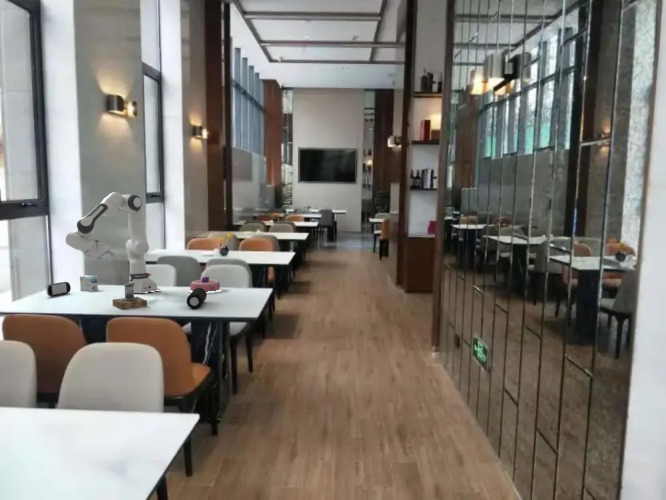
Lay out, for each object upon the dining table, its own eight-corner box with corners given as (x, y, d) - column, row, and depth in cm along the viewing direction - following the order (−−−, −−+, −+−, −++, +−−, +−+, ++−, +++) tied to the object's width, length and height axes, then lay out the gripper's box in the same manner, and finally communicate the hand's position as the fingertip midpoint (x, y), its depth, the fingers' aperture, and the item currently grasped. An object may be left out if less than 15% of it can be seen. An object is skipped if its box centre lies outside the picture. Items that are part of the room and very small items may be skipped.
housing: (132, 297, 362) (132, 282, 361) (136, 299, 357) (136, 283, 356) (122, 299, 357) (121, 283, 356) (126, 300, 352) (125, 284, 351)
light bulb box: (98, 290, 413) (97, 275, 412) (91, 291, 407) (91, 276, 406) (86, 289, 417) (86, 274, 416) (80, 290, 411) (79, 276, 409)
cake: (206, 295, 397) (205, 280, 396) (180, 292, 409) (180, 277, 408) (229, 290, 418) (229, 276, 417) (204, 287, 431) (204, 273, 430)
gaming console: (46, 297, 382) (48, 297, 381) (44, 284, 382) (47, 284, 381) (69, 293, 400) (71, 293, 399) (67, 281, 400) (70, 280, 399)
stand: (137, 302, 369) (137, 296, 368) (147, 306, 357) (146, 299, 356) (112, 305, 358) (112, 298, 358) (121, 309, 346) (121, 302, 346)
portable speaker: (192, 301, 374) (192, 287, 373) (207, 301, 374) (207, 287, 373) (185, 309, 348) (185, 294, 347) (202, 309, 349) (201, 294, 348)
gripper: (83, 249, 348) (104, 258, 349) (99, 239, 367) (118, 248, 368) (81, 257, 350) (101, 267, 351) (96, 247, 369) (115, 256, 370)
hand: (110, 257), depth 360 cm, fingers open, 8 cm apart
